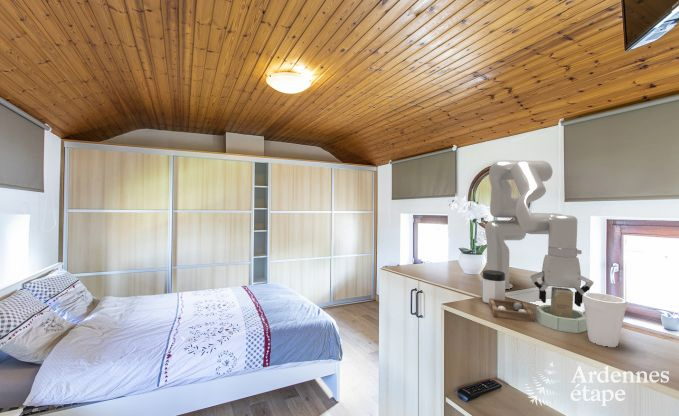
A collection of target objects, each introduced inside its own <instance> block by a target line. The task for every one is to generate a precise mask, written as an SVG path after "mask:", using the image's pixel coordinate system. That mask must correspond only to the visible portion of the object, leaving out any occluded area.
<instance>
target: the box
mask: <svg viewBox="0 0 679 416" xmlns="http://www.w3.org/2000/svg"><path fill="white" fill-rule="evenodd" d="M550 293H551V295H550V296H551V297H550V298H551V299H550V305H551V312H550V314H551V315H554V316H557V317H564V318H572V310H573V309H574V308H573V307H574V306H573V305H574V291H572V290H571V288H564V287H554V286H551V292H550Z"/></svg>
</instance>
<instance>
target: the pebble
mask: <svg viewBox="0 0 679 416" xmlns="http://www.w3.org/2000/svg"><path fill="white" fill-rule="evenodd" d="M519 302H520V301H517V302H516V303H514V305H513V307H514V311H518V310H520V309H522V308H523V306H522V304H521V303H519Z"/></svg>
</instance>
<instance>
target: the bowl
mask: <svg viewBox="0 0 679 416" xmlns="http://www.w3.org/2000/svg"><path fill="white" fill-rule="evenodd" d="M550 312H551V304H543V305H538V306H536V307H535V319H536V321H537V323H539V324H540V325H541V326H544V327H546V328H549V329H552V330H554V331H558V332H566V333H574V334H580V333H583V332H586V331H587V332H588V330H587V323H586V316H585V313H583V312H582V311H580V310H577V309H574V308H573V310H572V318H564V317H557V316H554V315H551V314H550Z"/></svg>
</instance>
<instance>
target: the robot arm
mask: <svg viewBox="0 0 679 416" xmlns="http://www.w3.org/2000/svg"><path fill="white" fill-rule="evenodd" d="M488 172H489V173H488V178H489V182H490V187H491V189H490V202H489V203H490V204H489V205H490V206H489V212H490V214H491V216H492V217H493V218H498V219H494V220H490V221H488V222H486V224H485V227H484V232H485V233H484V234H485V239H486V270H495V271H501V272H504V273H505V289H509V290H511V289H510V288H512V287H514V286H513V284H512V283H510V249H509V246H508V245H507V244H506V242H505V241H522V240H523V239H525V238H526V236H527V234H529V235H548V240H547V242H548V243H547V254H545V255H544V258H543V261H542V267H541V271H540V272H538V273H535V274H532V275H530V279H531V281H532V283H533V285H534V286H535V287H537V288H538V289H539V290H538V291H539V292H538V299H539V300H540V301H541V302H542V303H543V304H546V303H547V291H546V289H547V288H548V287H557V288H568V289H575V292H574V298H573V304H575V305H576V306H577V307H579V308H580V307H581V306H582V304H583V294H584V293H588V291H590V288H591V287H592V286H593V284H594V281H593V280H591V279H589V278H587V277H585V276H583V275H582V273H581V265H580V261H579V260H580V259H579V257H578V255H581V254H582V250H581V249H578V248H577V244H578V243H577V241H578V240H577V239H578V218H577V217H576V216H574V215H565V214H561V213H558V212H557V213H553V212H552V213H550V212H549V213H547V212H544V213H543V212H531V210H530V209H529V205H528V204H530V203H533V202H535V201H537V200H539V199H541V198H542V197H543V196H544V195H545V194H546V192H547V188H546V186H545V184H544V183H543V182H548V181H549V180H550V179H551V178H552V176H553V167H552V166H551V164H550V163H549V162H548V161H545V160H499V161H495V162H493V163H492V164H491V165H490V168H489V171H488ZM509 180H511V181H513V182H514V183H515V185H516V187H517V190H518V192H519V194H520V195H519V196H520V197H513V196H512V195H513V193H512V192H513V187H512V185H511V183H510V182H509ZM499 218H501V219H499ZM502 218H503V219H502ZM506 218H507V219H508V218H509V219H510V218H511V219H512V220H506ZM540 278H541V281H542V282H541V283H539V282H538V279H540ZM582 281H583V282H585V284H584V285H583V286H581V285H582ZM512 289H513V288H512Z"/></svg>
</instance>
